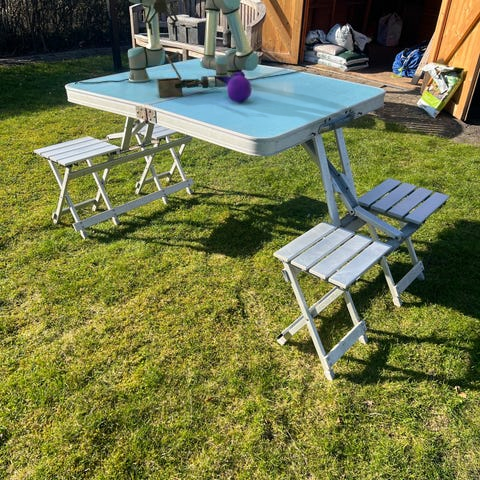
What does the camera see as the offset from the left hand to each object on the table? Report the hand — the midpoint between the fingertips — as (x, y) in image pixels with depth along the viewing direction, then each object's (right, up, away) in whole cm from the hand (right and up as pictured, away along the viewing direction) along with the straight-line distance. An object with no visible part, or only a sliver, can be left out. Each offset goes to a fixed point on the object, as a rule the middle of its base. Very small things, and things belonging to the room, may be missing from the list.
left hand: (162, 34), depth 277 cm
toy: (+45, -39, +4) cm, 60 cm away
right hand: (+5, -25, +16) cm, 30 cm away
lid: (+5, -16, +11) cm, 20 cm away
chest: (+2, -32, +19) cm, 37 cm away
